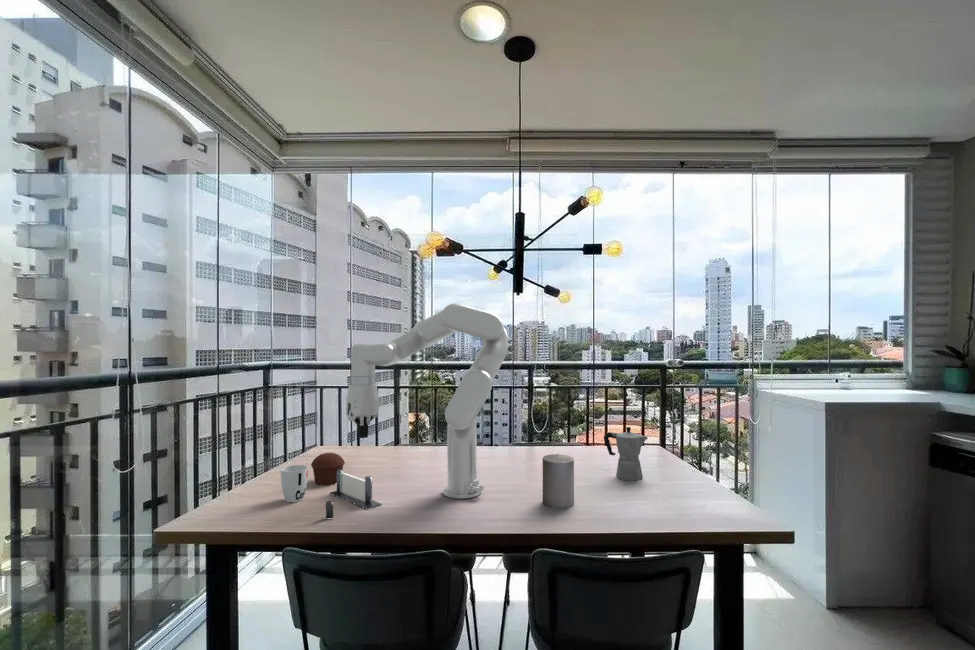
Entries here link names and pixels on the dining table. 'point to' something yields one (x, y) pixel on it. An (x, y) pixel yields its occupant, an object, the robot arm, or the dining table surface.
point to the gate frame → (368, 496)
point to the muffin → (327, 468)
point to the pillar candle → (558, 481)
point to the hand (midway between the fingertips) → (363, 437)
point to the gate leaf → (352, 486)
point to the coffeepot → (627, 454)
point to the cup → (294, 482)
